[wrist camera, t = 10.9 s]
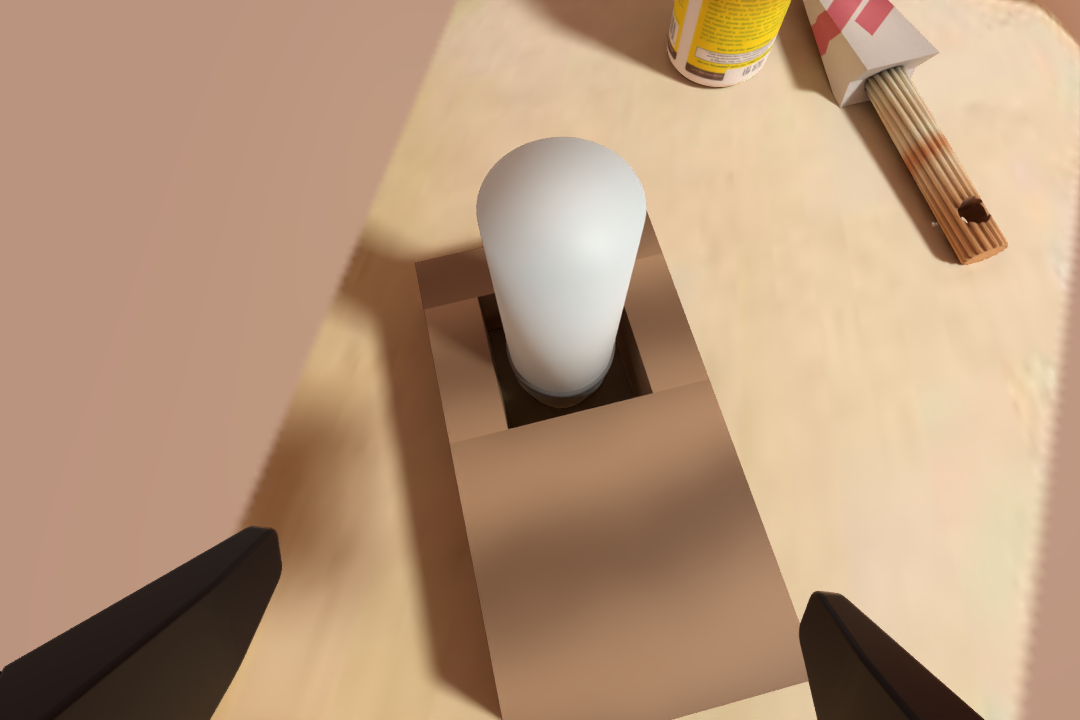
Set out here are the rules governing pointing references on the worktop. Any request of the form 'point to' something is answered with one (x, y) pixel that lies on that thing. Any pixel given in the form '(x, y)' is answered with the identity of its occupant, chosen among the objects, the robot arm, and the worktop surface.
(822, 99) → the worktop surface
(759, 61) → the supplement bottle
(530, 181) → the peg
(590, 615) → the brown holed block
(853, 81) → the paintbrush
